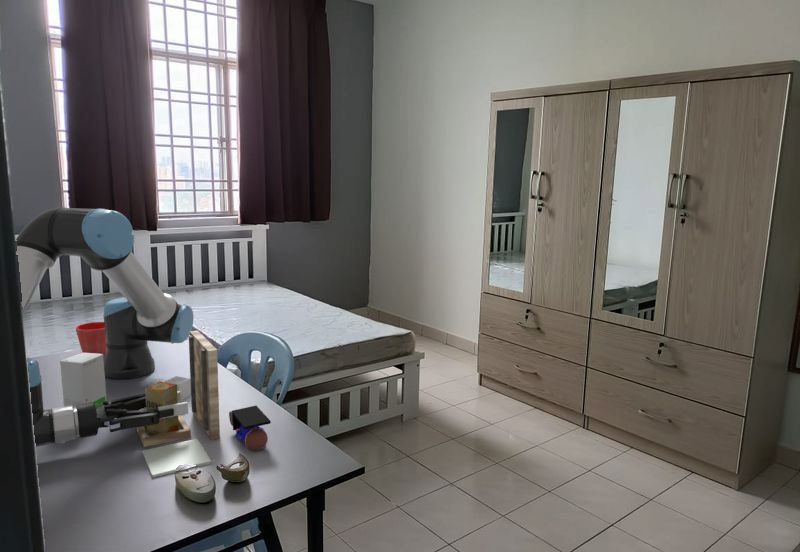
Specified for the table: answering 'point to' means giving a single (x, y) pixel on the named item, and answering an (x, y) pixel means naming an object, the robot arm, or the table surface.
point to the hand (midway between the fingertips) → (183, 402)
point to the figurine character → (250, 426)
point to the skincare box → (83, 379)
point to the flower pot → (92, 337)
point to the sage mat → (175, 457)
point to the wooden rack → (196, 393)
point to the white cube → (181, 385)
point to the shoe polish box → (160, 397)
